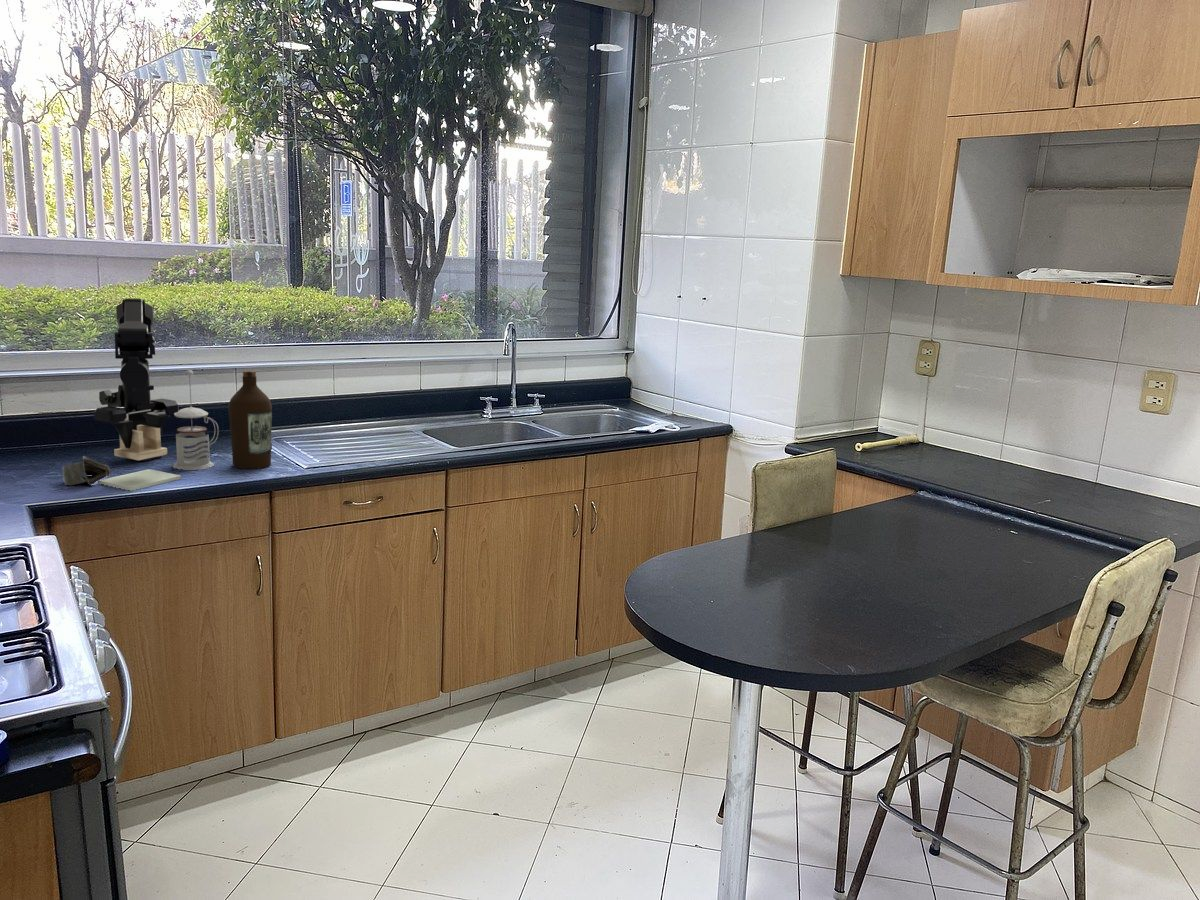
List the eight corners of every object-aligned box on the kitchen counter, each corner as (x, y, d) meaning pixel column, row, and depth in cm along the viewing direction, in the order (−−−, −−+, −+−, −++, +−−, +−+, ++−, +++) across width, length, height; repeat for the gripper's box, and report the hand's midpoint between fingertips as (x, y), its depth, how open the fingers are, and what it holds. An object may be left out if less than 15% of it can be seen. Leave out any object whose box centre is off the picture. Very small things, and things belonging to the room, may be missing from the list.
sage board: (149, 472, 224) (148, 469, 224) (181, 478, 220) (180, 475, 219) (98, 483, 211) (97, 480, 211) (130, 491, 207) (130, 487, 207)
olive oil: (221, 464, 235) (218, 370, 230) (256, 458, 244) (254, 367, 238) (247, 472, 229) (244, 375, 224) (281, 465, 238) (279, 371, 233)
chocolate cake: (83, 476, 220) (53, 450, 209) (112, 468, 220) (84, 442, 210) (81, 509, 214) (50, 484, 204) (110, 501, 215) (81, 476, 205)
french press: (165, 464, 232) (160, 368, 227) (209, 458, 241) (205, 366, 236) (183, 471, 226) (179, 373, 221) (227, 465, 235) (224, 370, 229)
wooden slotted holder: (167, 454, 216) (166, 427, 214) (138, 460, 209) (137, 433, 207) (143, 449, 219) (142, 423, 218) (114, 455, 212) (112, 428, 210)
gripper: (145, 373, 222) (149, 435, 225) (75, 381, 205) (80, 447, 208) (178, 378, 217) (181, 441, 221) (109, 387, 201) (113, 454, 204)
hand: (139, 445), depth 214 cm, fingers closed on wooden slotted holder, 6 cm apart
